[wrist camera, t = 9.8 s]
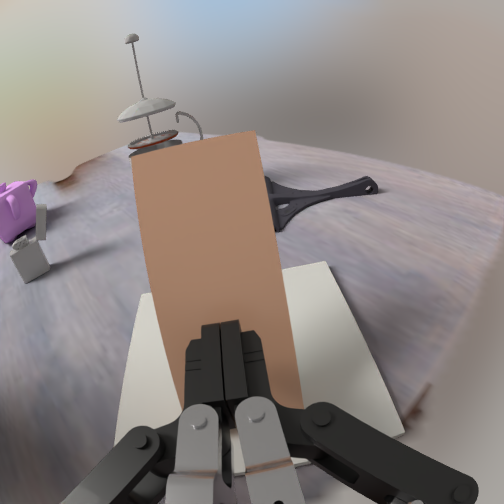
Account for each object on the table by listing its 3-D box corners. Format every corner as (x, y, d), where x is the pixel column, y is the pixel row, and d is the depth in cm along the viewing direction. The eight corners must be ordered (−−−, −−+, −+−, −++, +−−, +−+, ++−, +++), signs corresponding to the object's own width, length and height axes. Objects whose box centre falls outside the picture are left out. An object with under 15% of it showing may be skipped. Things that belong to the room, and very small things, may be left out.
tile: (188, 431, 14) (130, 156, 14) (194, 412, 16) (144, 167, 16) (304, 414, 14) (255, 130, 14) (298, 396, 16) (253, 144, 16)
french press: (140, 197, 48) (103, 48, 34) (210, 179, 49) (180, 27, 35) (133, 224, 40) (85, 41, 26) (217, 202, 41) (181, 14, 27)
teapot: (-12, 240, 49) (-30, 198, 43) (35, 208, 58) (20, 168, 52) (2, 258, 39) (-23, 205, 34) (62, 216, 49) (43, 165, 43)
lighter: (25, 284, 31) (-4, 229, 27) (24, 278, 33) (-2, 225, 28) (69, 258, 35) (45, 202, 30) (67, 254, 36) (44, 199, 32)
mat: (116, 477, 13) (111, 474, 13) (143, 299, 26) (141, 294, 26) (402, 436, 13) (405, 432, 13) (325, 266, 27) (325, 261, 26)
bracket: (397, 223, 32) (399, 200, 30) (264, 239, 33) (261, 215, 31) (359, 177, 44) (358, 160, 42) (259, 188, 45) (257, 170, 43)
